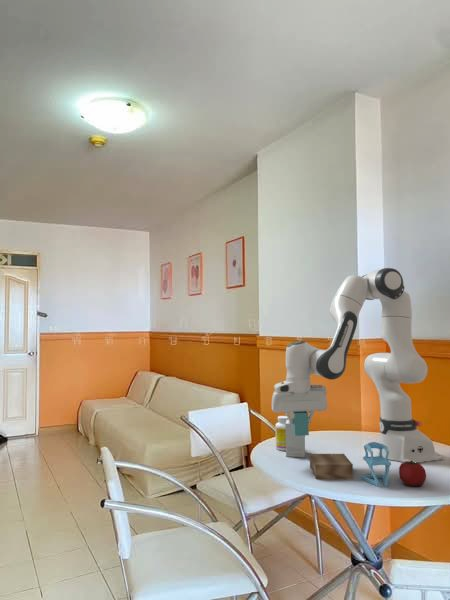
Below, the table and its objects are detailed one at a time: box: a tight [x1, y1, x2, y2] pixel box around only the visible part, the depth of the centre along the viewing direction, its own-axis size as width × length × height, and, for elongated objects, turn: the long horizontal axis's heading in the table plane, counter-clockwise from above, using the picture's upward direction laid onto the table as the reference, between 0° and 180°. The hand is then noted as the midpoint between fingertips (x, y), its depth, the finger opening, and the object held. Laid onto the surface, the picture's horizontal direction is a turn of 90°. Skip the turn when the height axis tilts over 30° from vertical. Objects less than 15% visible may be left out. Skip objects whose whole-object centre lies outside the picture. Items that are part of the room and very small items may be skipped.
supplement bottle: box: [274, 415, 289, 452], centre depth 175 cm, size 7×7×13 cm
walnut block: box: [309, 453, 354, 480], centre depth 146 cm, size 12×12×5 cm
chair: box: [360, 441, 392, 488], centre depth 137 cm, size 8×8×12 cm
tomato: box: [398, 460, 427, 487], centre depth 134 cm, size 8×8×7 cm
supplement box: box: [285, 420, 306, 458], centre depth 167 cm, size 7×7×13 cm
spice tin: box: [290, 411, 310, 436], centre depth 157 cm, size 5×5×8 cm
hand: (299, 423), depth 157 cm, fingers closed on spice tin, 5 cm apart
